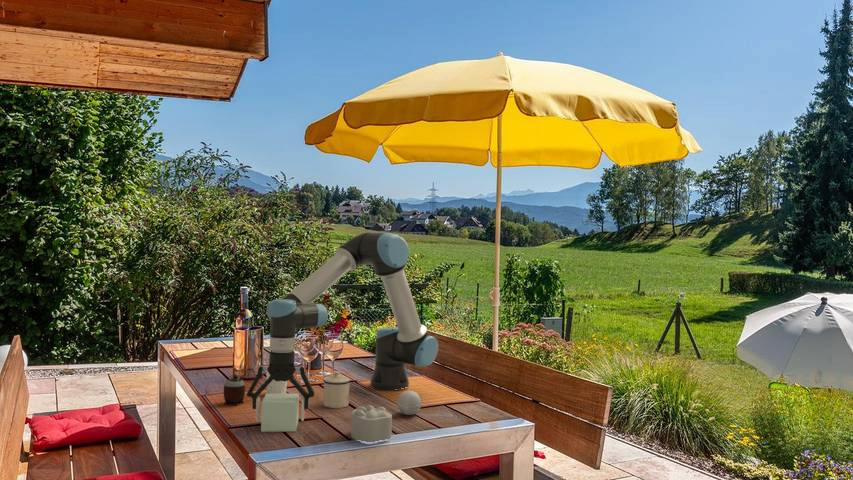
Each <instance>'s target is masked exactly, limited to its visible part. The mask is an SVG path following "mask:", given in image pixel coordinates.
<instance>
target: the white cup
mask: <svg viewBox="0 0 853 480" xmlns="http://www.w3.org/2000/svg"><path fill="white" fill-rule="evenodd" d="M266 367H269V365H268V366H266ZM265 373H266V380H267V379H268V378H269V377H270V374H269V372H268V371H265ZM287 388H288V381H275V380H274V379H273V380H272V381H271V382H270V383H269V384H268V386H267V387H266V391H267V392H266V394H287Z"/></svg>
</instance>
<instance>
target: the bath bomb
mask: <svg viewBox="0 0 853 480" xmlns="http://www.w3.org/2000/svg"><path fill="white" fill-rule="evenodd" d="M397 407H398V410H399V411H400V412H401V413H402V414H404V415H405V416H413V415H416V414H417V413H418V412H419V411H420V409H421V407H422V399H421V396H420V395H419V394H418V393H417V392H416V391H414V390H405V391H403V392H402V393H401V394H400V395H399V396H398V398H397Z"/></svg>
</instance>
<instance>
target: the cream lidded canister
mask: <svg viewBox="0 0 853 480" xmlns="http://www.w3.org/2000/svg"><path fill="white" fill-rule="evenodd" d="M350 382H351V380H350V378H349V377H347V376H346V375H345V376H344V375H343V374H341V372H340V371H337V370H336V371H334V372H333V374H331V375H329V376H326V377H324V379H323V406H324V407H326V408H329V409H341V408H347V407H348V406H349V403H350V400H349V398H350Z"/></svg>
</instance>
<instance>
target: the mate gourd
mask: <svg viewBox="0 0 853 480" xmlns="http://www.w3.org/2000/svg"><path fill="white" fill-rule="evenodd" d="M241 359H242V360H241V361H240V364H239V368H238V374H237V375H238V376H237V378H230V379H229V378H228V379H227V380H226V381H225V383H224V386H223V399H224V405H225V404H227V405H233V406H234V407H236V406H237V405H238V404H237V403H239V404H244V398H245V396H246V395H245V393H246V385H245V384H246V383H245V382H244V380H243V379H241V378H240V376H241V370H242V367H243V363H244V361H245V359H246V357H245V356H243V358H241Z"/></svg>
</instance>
